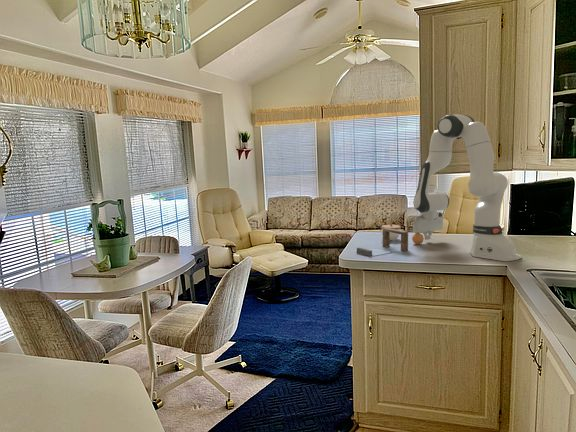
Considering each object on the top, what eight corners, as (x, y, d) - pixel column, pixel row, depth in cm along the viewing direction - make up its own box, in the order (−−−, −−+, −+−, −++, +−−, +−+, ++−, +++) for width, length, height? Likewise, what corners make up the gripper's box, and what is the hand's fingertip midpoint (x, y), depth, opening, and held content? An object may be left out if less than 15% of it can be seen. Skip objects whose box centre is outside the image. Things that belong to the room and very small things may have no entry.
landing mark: (392, 252, 218) (392, 252, 218) (374, 256, 212) (374, 255, 211) (375, 248, 228) (375, 248, 228) (357, 251, 222) (357, 251, 222)
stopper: (372, 255, 213) (372, 250, 212) (368, 256, 212) (368, 251, 211) (359, 252, 220) (359, 247, 220) (356, 252, 219) (356, 247, 219)
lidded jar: (393, 242, 242) (393, 225, 241) (377, 239, 250) (377, 223, 249) (404, 239, 249) (404, 223, 248) (388, 236, 257) (389, 221, 256)
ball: (425, 244, 235) (426, 233, 234) (418, 245, 232) (418, 234, 231) (417, 242, 240) (417, 231, 239) (409, 243, 237) (409, 233, 236)
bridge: (386, 245, 234) (386, 227, 233) (407, 250, 221) (408, 231, 220) (382, 246, 232) (382, 228, 231) (403, 251, 220) (403, 232, 218)
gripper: (418, 217, 230) (418, 242, 232) (445, 213, 240) (444, 238, 242) (410, 215, 235) (409, 240, 237) (436, 212, 245) (435, 236, 247)
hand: (427, 239), depth 239 cm, fingers closed
